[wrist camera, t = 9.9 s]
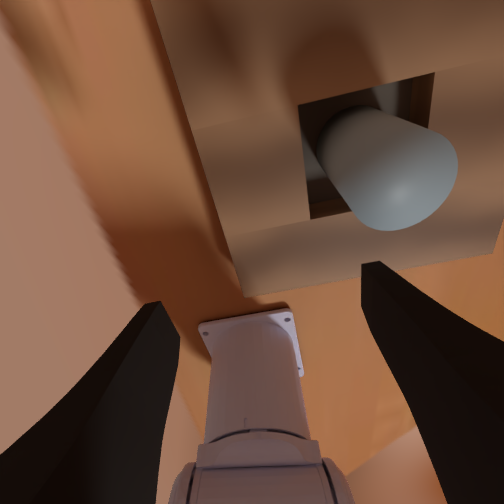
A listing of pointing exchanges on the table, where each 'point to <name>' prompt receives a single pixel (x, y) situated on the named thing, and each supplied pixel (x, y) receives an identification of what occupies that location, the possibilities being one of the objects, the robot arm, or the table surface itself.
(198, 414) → the table surface
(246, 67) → the walnut socket block
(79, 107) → the table surface
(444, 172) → the slate pin
